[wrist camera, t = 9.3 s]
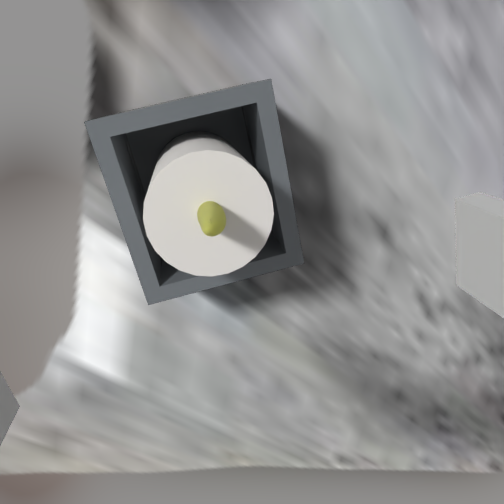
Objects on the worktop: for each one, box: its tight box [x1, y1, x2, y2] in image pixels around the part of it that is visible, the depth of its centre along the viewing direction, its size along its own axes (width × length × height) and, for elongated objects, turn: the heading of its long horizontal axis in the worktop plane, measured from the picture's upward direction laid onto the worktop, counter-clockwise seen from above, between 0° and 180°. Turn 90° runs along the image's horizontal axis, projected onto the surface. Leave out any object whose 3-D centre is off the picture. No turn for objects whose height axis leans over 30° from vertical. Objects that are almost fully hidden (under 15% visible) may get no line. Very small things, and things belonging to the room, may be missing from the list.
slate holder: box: [84, 79, 304, 305], centre depth 27 cm, size 11×10×7 cm
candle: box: [143, 131, 274, 276], centre depth 23 cm, size 6×6×15 cm
